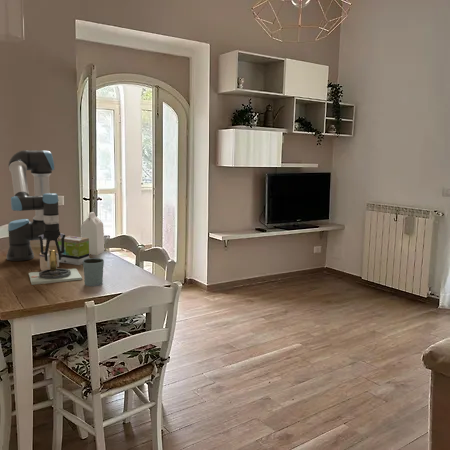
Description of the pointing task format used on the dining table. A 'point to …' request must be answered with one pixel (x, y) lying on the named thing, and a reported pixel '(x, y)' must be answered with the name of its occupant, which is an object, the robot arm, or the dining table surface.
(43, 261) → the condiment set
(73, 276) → the board
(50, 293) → the dining table surface
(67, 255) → the tea box
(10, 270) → the dining table surface
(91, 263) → the grey blue cup
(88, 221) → the milk
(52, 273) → the handwheel
